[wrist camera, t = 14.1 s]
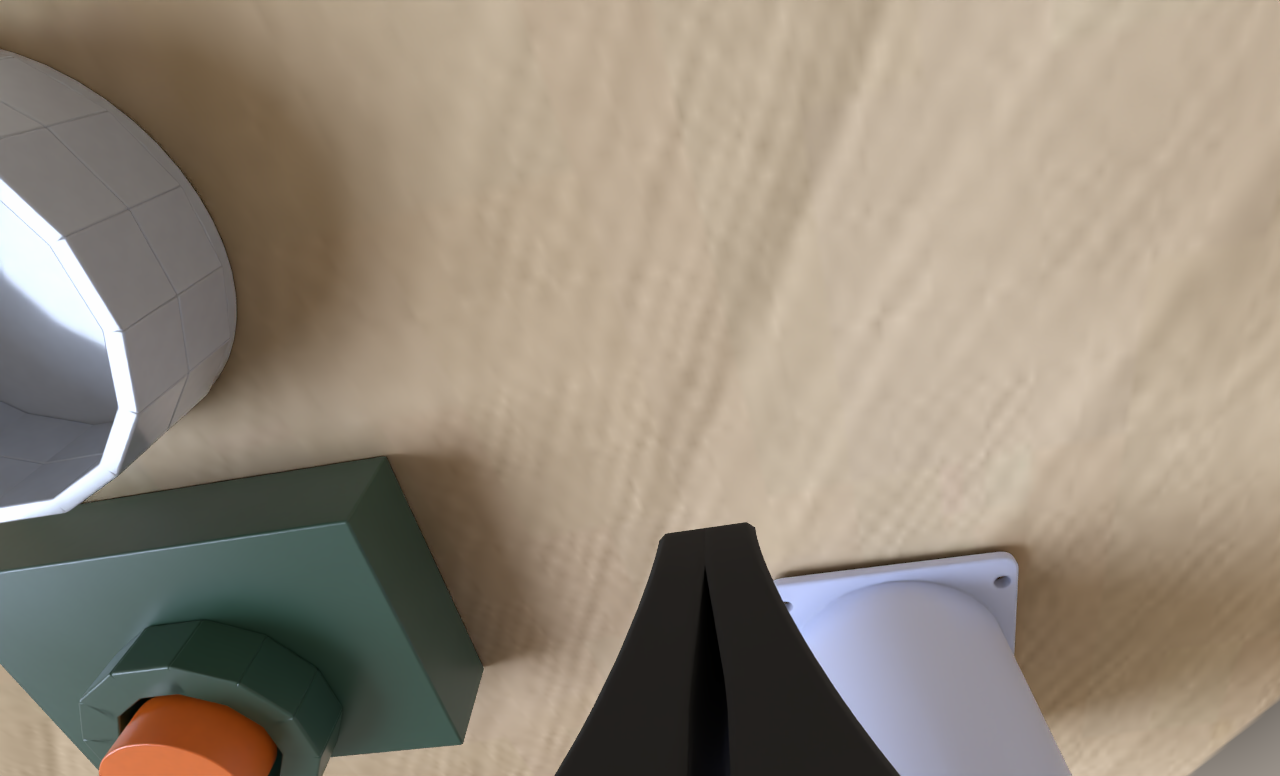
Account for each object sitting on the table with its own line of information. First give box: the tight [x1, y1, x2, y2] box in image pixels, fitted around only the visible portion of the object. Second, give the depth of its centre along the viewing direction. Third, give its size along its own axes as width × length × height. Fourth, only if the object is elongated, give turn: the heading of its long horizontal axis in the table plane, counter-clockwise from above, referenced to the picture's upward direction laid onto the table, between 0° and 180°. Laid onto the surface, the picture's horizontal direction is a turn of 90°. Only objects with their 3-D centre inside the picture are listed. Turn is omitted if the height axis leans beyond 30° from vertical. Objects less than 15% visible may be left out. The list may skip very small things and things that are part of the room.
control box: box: [0, 456, 483, 776], centre depth 24 cm, size 10×14×5 cm
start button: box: [99, 694, 277, 776], centre depth 23 cm, size 4×4×2 cm
